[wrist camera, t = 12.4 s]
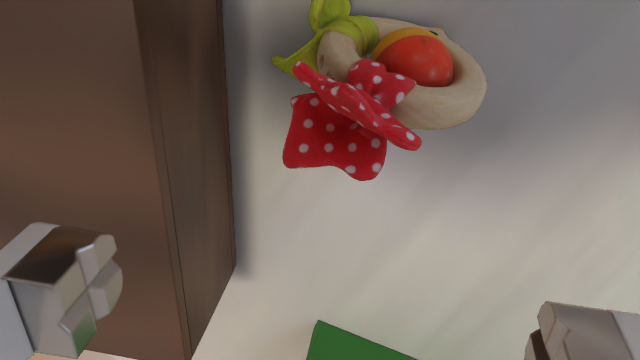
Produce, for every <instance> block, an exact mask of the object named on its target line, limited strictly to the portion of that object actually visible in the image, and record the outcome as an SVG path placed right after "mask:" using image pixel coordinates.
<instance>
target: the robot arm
mask: <svg viewBox="0 0 640 360" xmlns="http://www.w3.org/2000/svg"><path fill="white" fill-rule="evenodd" d="M116 251H117V247H116V243H115V239H114V237H113V236H111V235H110V234H108V233H103V232H97V231H91V230H86V229H80V228H75V227H69V226H64V225H62V226H60V225H55V224H50V223H44V222H36V223H32V224H30V225H29V226H28V227H27V228H25V229H24V230H23V231H22V232H21V233H20V234H18V235H17V236H16V237H15V238H14V239H13V240H12V241H10V242H9V243H8V244H7V245H6V246H5V247H4V248H2V249H1V250H0V360H27V359H29V358H30V357H32V356H34V352H35V353H41V354H48V355H54V356H60V357H67V358H73V359H78V357H79V356H80V354H81V353H82V352H83V350H84V349H85V348H86V346H87V345H88V343H89V342H90V341H91V339H92V338H93V336H94V335H95V334H96V332H97V327H96V321H98V320H99V319H101V318H103V317H105V316H107V315H109V314H110V313H111V311H112V310H113V308H114V307H115V305H116V304H117V302H118V299H119V296H120V294H121V291H122V284H123V275H122V270H121V267H120V266H119V265H118V264H117V263H116V262H115V260H114V259H113V258H112V257H113V255H114V254H115V253H116ZM537 318H538V322H539V326H540V329H538V330H536V331H535V332H533V333H531V334H530V336H529V339H528V342H527V345H526V349H525V358H524V360H640V315H639V314H636V313H629V312H621V311H614V310H603V309H597V308H590V307H583V306H576V305H570V304H563V303H556V302H549V301H546V302H545V303H544V304H543V305H542V306H541V308H540V311H539V313H538V316H537Z"/></svg>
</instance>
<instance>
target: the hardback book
mask: <svg viewBox="0 0 640 360" xmlns="http://www.w3.org/2000/svg"><path fill="white" fill-rule="evenodd" d="M306 360H416V359H413V358H411V357H408V356H406V355H403V354H401V353H398V352H396V351H393V350H391V349H388V348H386V347H383V346H381V345H378V344H376V343H373V342H371V341H368V340H366V339H363V338H361V337H358V336H356V335H353V334H351V333H348V332H346V331H343V330H341V329H338V328H336V327H333V326H331V325H328V324H326V323H323V322H321V321H318V322H317V324H316V325H315V327H314V330H313V334H312V338H311V342H310V346H309V351H308V355H307V359H306Z"/></svg>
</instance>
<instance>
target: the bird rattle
mask: <svg viewBox="0 0 640 360" xmlns="http://www.w3.org/2000/svg"><path fill="white" fill-rule="evenodd" d="M350 11H351V6H350V2H349V0H312V2H311V6H310V10H309V23H310V26H311V29H312V30H313V32H314V33H315V36H314V37H313V38H312V39H311V40H310V41H309V42H308V43H307V44H305V45H304V46H303V47H302V48H300V49H299V50H298V51H296V52H295V53H294V54H292V55H291V56H290V57H288V58H287V59H285V58H283V57H282V56H280V55H276V56H274V57H273V58H272V64H273V65H274V66H276V67H277V68H279V69H280V70H282V71H283V72H285V73H287V74H289V75H290V76H292V77H294V78H295V79H297V80H299V81H300V82H302V83H303V84H305V85H306V86H308V87H310V88H311V89H312V90H314V91H315V92H316V93H308V94H302V95H299V96H296V97H293V98H292V99H291V106H292V107H293V115H292V121H291V124H290V128H289V132H288V135H287V138H286V142H285V145H284V148H283V156H282V158H283V163H284V165H285V166H286V167H287V168H307V167H321V166H329V165H330V166H335V167H338V168H340V169H342V170H343V171H345V172H346V173H347V174H348V175H349V176H351V177H353V178H354V179H357V180H359V181H366V180H371V179H374V178H375V177H376V176H377V175H378V173H379V172H380V170H381V168H382V167H383V164H384V161H385V156H386V148H387V140H388V141H389V142H391V143H392V144H394V145H396V146H398V147H400V148H403V149H405V150H411V151H415V150H417V149H419V148H420V146H421V144H422V140H421V138H420V137H419V136H418V135H417V134H415V133H414V132H413V131H411V130H410V129H418V130H435V129H444V128H449V127H453V126H456V125H459V124H462V123H464V122H465V121H467V120H469V119H470V118H471V117H472V116H473V115H474V114H475V113H476V112H477V111H478V109H479V107H480V106H481V104H482V102H483V99H484V97H485V95H486V91H487V80H486V77H485V74H484V72H483V70H482V68H481V67H480V65H479V64H478V63H477V61H476V60H475V59H474V58H473V57H472V56H471V55H470V54H469V53H467V52H466V51H465V50H464V49H463V48H462V47H460V46H459V45H457V44H456V43H454V42H453V41H451V40H450V39H449V38H448V37H447V36H446V34H445V32H444V31H443V30H442V29H440V28H436V27H424V26H420V25H416V24H413V23H409V22H405V21H400V20H395V19H388V18H379V17H366V16H362V15H356V16H350V15H349V14H350ZM369 54H372V55H371V58H370V59H366V58H364V59H361V58H363V57H364V56H366V55H369ZM408 128H410V129H408Z"/></svg>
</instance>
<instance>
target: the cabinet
mask: <svg viewBox="0 0 640 360" xmlns="http://www.w3.org/2000/svg"><path fill="white" fill-rule="evenodd" d="M36 222H44V223H50V224H55V225H60V226H62V225H64V226H69V227H75V228H80V229H86V230H91V231H97V232H103V233H108V234H110V235H111V236H113V237H114V239H115V243H116V247H117V251H116V253H115V254H114V255H113V257H112V258H113V259H114V260H115V262H116V263H117V264H118V265H119V266H120V267H121V270H122V275H123V284H122V291H121V294H120V296H119V299H118V302H117V304H116V305H115V307H114V308H113V310H112V311H111V313H110V314H109V315H107V316H105V317H103V318H101V319H99V320H98V321H96V327H97V332H96V334H95V335H94V336H93V338H92V339H91V341H90V342H89V343H88V345H87V346H86V348H85V350H90V351H95V352H101V353H106V354H111V355H116V356H122V357H127V358H132V359H138V360H191V359H192V356H193V355H194V353H195V351H196V349H197V346H198V344H199V342H200V340H201V338H202V336H203V334H204V332H205V330H206V328H207V326H208V323H209V321H210V319H211V317H212V315H213V313H214V311H215V309H216V307H217V305H218V303H219V300H220V298H221V296H222V294H223V292H224V290H225V288H226V286H227V284H228V282H229V280H230V278H231V275H232V273H233V271H234V269H235V267H236V251H235V232H234V214H233V196H232V178H231V160H230V142H229V124H228V105H227V87H226V69H225V51H224V33H223V15H222V0H0V250H1V249H2V248H4V247H5V246H6V245H7V244H8V243H9V242H10V241H12V240H13V239H14V238H15V237H16V236H17V235H18V234H20V233H21V232H22V231H23V230H24V229H25V228H27V227H28V226H29V225H30V224H32V223H36Z"/></svg>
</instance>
